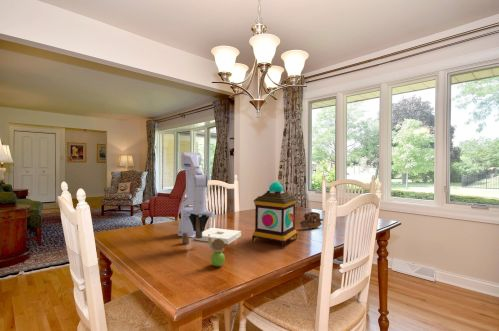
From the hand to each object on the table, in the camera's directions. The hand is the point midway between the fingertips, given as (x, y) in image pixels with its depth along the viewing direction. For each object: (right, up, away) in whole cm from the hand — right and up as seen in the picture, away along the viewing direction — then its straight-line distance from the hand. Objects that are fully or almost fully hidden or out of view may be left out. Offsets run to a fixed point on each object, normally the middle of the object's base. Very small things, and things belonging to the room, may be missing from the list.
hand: (198, 231), depth 119 cm
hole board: (+7, -8, +16) cm, 20 cm away
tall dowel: (0, -3, 0) cm, 3 cm away
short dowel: (-7, -8, +6) cm, 12 cm away
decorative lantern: (+36, -8, +13) cm, 39 cm away
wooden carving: (+61, -8, +39) cm, 73 cm away
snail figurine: (+10, -8, -20) cm, 24 cm away
